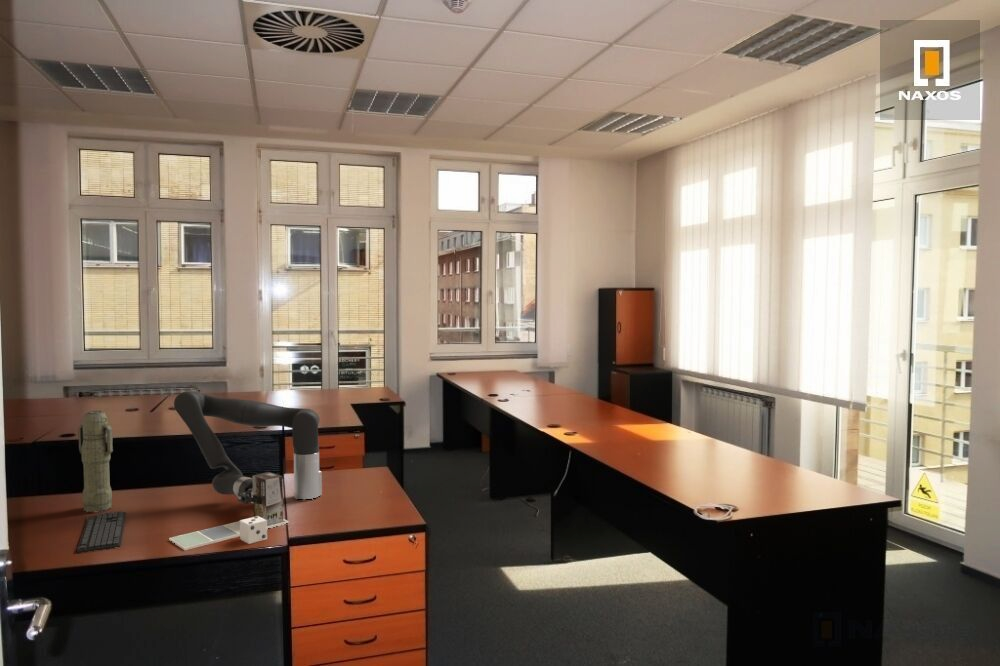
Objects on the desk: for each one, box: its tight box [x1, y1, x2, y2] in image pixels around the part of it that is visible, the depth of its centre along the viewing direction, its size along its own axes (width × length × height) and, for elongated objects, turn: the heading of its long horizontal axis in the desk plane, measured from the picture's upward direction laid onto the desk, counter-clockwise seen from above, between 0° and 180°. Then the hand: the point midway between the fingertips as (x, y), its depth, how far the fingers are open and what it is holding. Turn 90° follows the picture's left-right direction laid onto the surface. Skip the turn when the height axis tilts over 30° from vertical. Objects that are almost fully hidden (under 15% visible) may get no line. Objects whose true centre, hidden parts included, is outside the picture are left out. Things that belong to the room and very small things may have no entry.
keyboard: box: [76, 510, 127, 554], centre depth 222 cm, size 35×11×2 cm, turn 26°
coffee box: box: [252, 471, 284, 526], centre depth 231 cm, size 9×6×16 cm
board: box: [169, 518, 290, 551], centre depth 222 cm, size 34×12×1 cm, turn 136°
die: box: [239, 516, 268, 545], centre depth 216 cm, size 6×6×6 cm
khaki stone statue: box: [77, 410, 114, 512], centre depth 245 cm, size 9×12×35 cm
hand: (271, 499), depth 230 cm, fingers open, 7 cm apart
